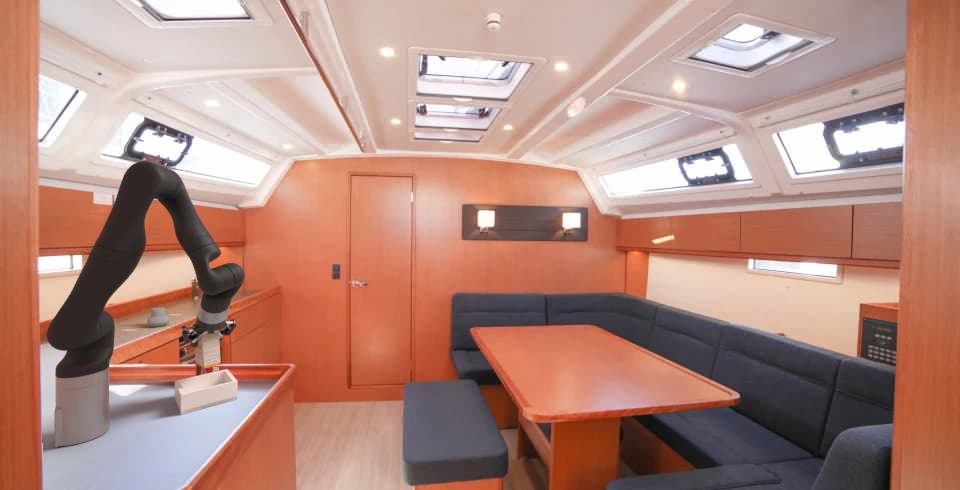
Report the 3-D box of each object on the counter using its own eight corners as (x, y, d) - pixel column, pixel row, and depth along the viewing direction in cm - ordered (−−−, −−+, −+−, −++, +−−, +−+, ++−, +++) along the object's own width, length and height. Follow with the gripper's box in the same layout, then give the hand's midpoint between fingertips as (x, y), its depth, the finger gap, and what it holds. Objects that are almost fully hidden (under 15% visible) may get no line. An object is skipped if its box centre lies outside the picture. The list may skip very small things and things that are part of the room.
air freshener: (169, 326, 193) (169, 308, 193) (149, 329, 187) (149, 311, 187) (166, 322, 200) (166, 305, 200) (147, 325, 194) (147, 307, 194)
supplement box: (221, 364, 111) (219, 324, 110) (203, 369, 107) (200, 328, 106) (212, 358, 115) (210, 320, 115) (194, 363, 112) (192, 324, 111)
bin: (180, 415, 101) (181, 395, 101) (174, 399, 111) (174, 380, 110) (237, 399, 112) (237, 381, 111) (227, 385, 121) (227, 369, 121)
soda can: (206, 386, 120) (206, 352, 120) (190, 384, 121) (190, 351, 121) (225, 378, 127) (225, 346, 127) (209, 376, 128) (209, 345, 128)
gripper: (239, 300, 111) (230, 329, 119) (180, 306, 100) (175, 338, 108) (243, 319, 107) (234, 348, 115) (183, 327, 96) (177, 359, 105)
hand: (205, 343), depth 112 cm, fingers closed on supplement box, 5 cm apart
